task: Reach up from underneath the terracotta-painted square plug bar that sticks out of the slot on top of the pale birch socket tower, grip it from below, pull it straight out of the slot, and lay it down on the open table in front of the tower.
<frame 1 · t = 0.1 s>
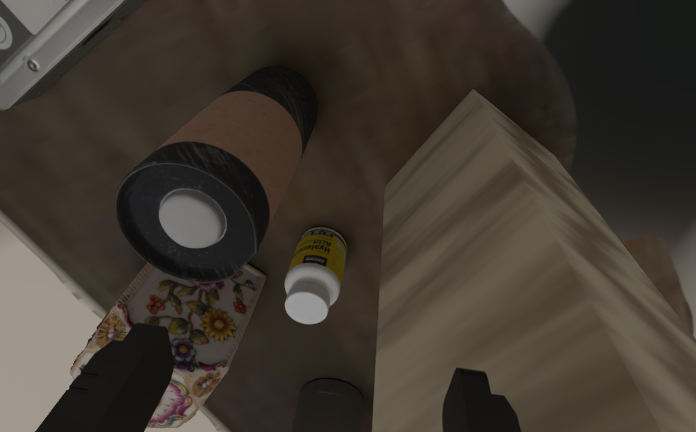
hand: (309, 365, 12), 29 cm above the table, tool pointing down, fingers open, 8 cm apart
socket tower: (466, 171, 40), on the table
supplement bottle: (323, 244, 46), on the table
travel mug: (279, 105, 38), on the table
decorative jar: (204, 275, 51), on the table
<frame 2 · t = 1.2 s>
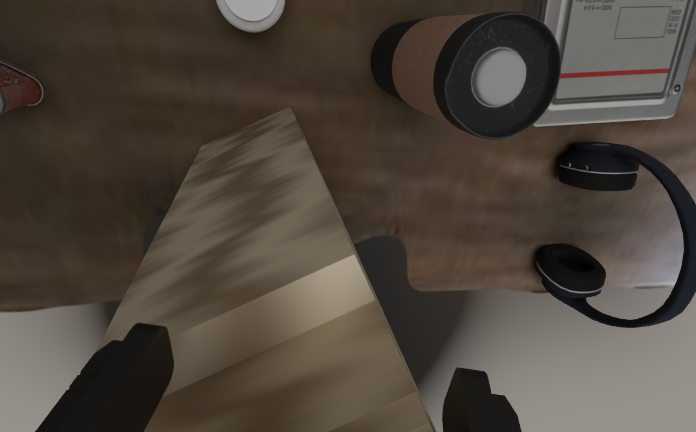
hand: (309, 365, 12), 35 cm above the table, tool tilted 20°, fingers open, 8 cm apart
socket tower: (272, 176, 46), on the table
supplement bottle: (251, 0, 39), on the table
travel mug: (403, 60, 44), on the table
headphones: (559, 209, 55), on the table
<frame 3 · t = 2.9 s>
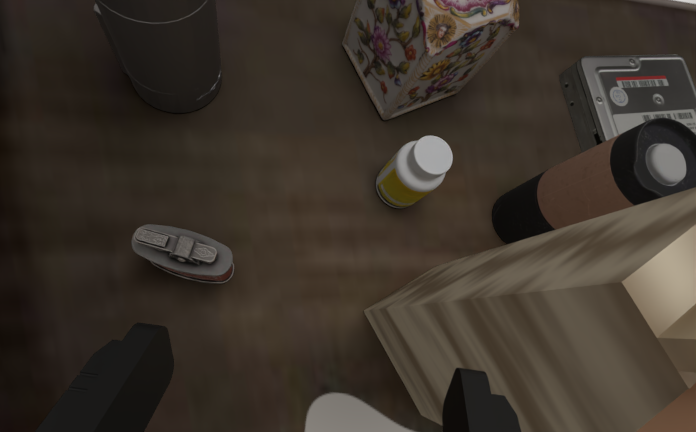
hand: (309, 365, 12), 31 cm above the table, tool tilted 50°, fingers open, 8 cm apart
socket tower: (429, 336, 45), on the table
lighter: (193, 263, 42), on the table
supplement bottle: (396, 187, 49), on the table
travel mug: (516, 220, 52), on the table
hard drive: (634, 159, 59), on the table
decorative jar: (399, 70, 53), on the table
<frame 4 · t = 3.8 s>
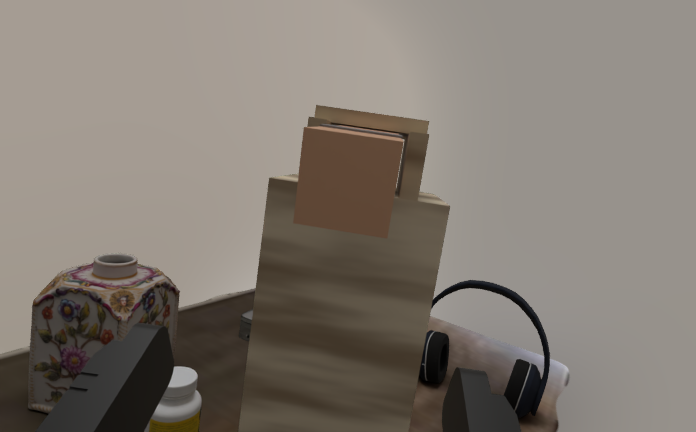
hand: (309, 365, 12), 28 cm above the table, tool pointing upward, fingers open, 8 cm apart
hard drive: (327, 346, 77), on the table
decorative jar: (105, 395, 53), on the table
plug bar: (354, 200, 24), point 32 cm above the table, touching socket tower
headphones: (469, 395, 67), on the table
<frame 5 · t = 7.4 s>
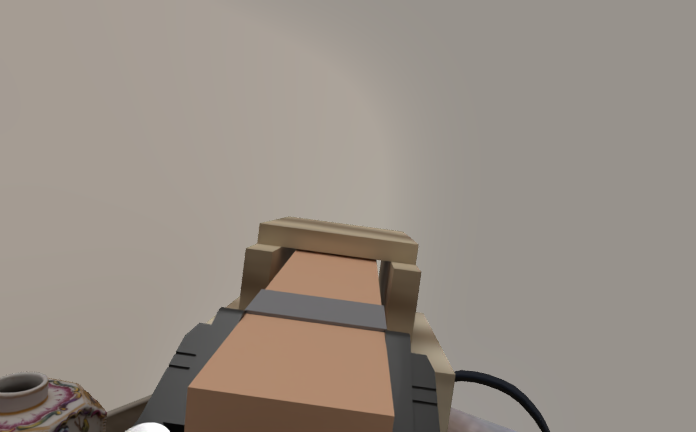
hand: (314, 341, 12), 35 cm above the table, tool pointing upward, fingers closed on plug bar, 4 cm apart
plug bar: (312, 395, 15), point 32 cm above the table, touching gripper, socket tower
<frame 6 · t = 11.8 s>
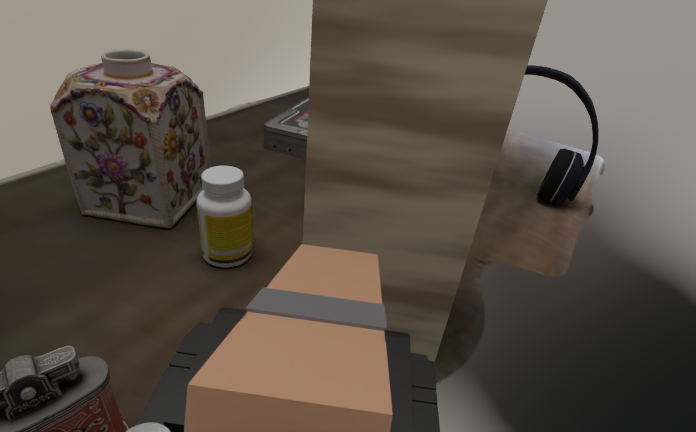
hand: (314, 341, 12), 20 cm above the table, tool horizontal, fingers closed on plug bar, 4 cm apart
socket tower: (369, 310, 41), on the table
supplement bottle: (228, 254, 47), on the table
hard drive: (355, 149, 75), on the table
decorative jar: (151, 200, 54), on the table
plug bar: (313, 393, 16), point 16 cm above the table, tilted 25°, touching gripper
headphones: (505, 187, 67), on the table
when the fingers open (9 cm above the table, at t = 14.1 s): plug bar drops 5 cm, on the table.
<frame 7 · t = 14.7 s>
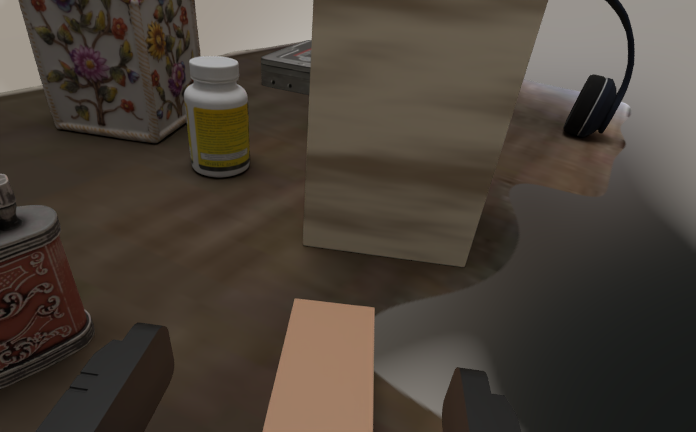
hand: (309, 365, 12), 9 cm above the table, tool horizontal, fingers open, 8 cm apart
socket tower: (384, 219, 35), on the table
lighter: (5, 364, 21), on the table
supplement bottle: (221, 168, 41), on the table
hard drive: (360, 90, 69), on the table
decorative jar: (137, 121, 48), on the table
headphones: (527, 123, 61), on the table
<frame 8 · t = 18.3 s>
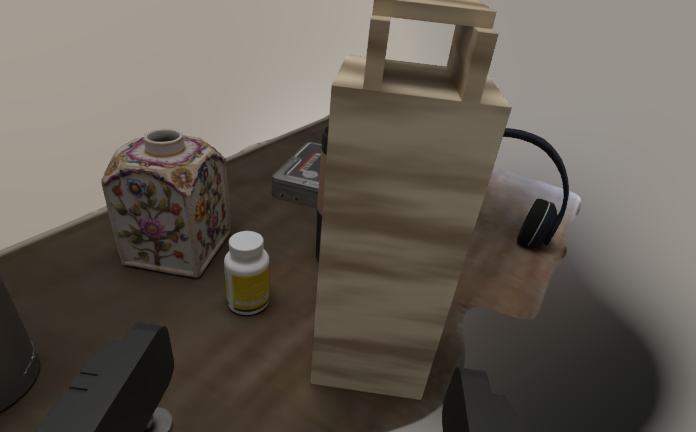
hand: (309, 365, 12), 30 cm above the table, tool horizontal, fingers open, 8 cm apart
socket tower: (368, 354, 49), on the table
supplement bottle: (248, 302, 55), on the table
travel mug: (339, 257, 64), on the table
hard drive: (353, 193, 83), on the table
decorative jar: (179, 249, 63), on the table
headphones: (489, 229, 75), on the table
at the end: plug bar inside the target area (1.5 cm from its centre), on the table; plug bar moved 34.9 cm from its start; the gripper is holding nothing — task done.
